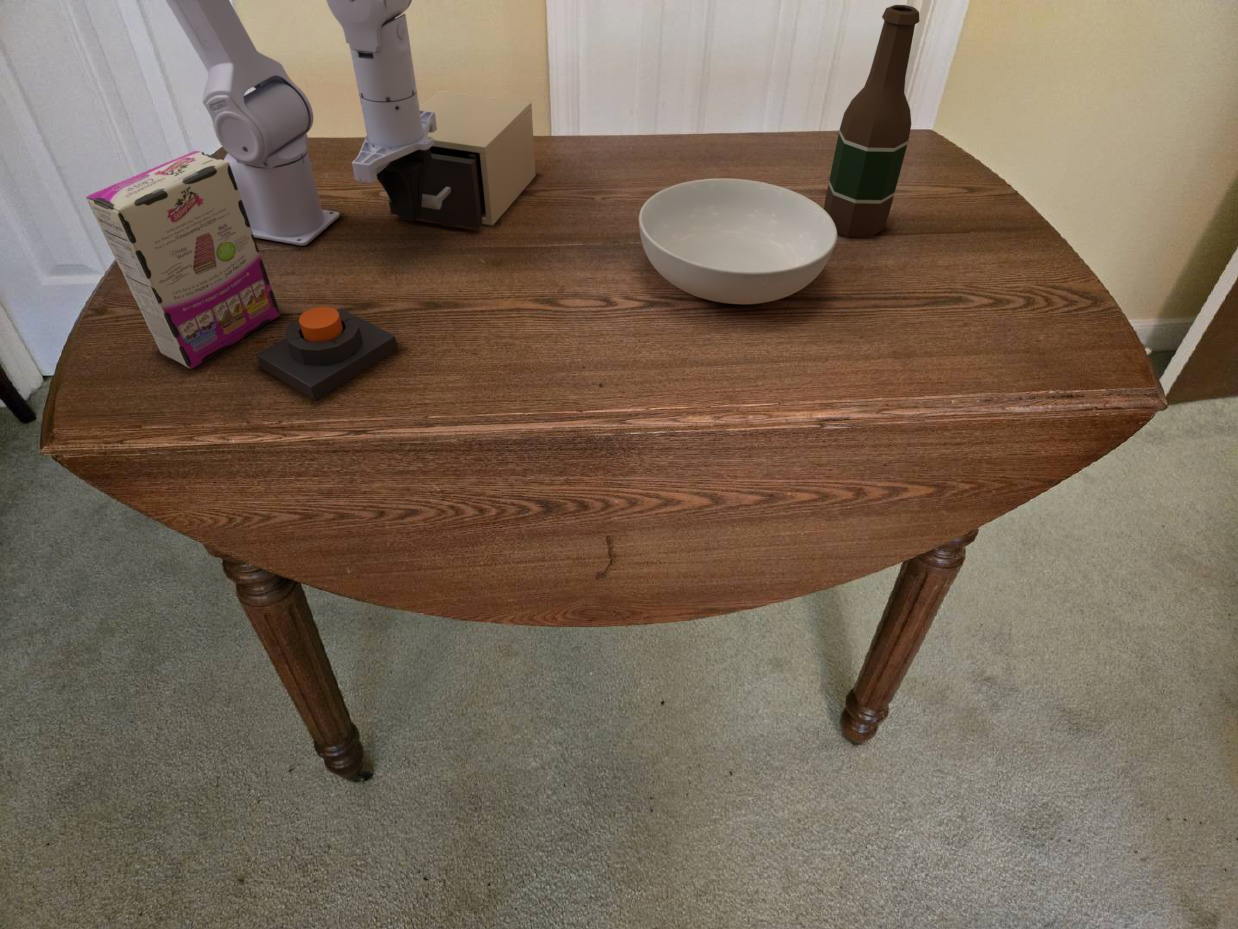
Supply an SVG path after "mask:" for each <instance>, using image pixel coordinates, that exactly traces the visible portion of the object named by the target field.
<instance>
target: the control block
mask: <svg viewBox="0 0 1238 929" xmlns="http://www.w3.org/2000/svg"><path fill="white" fill-rule="evenodd" d="M336 310H337V311H338V313H339V316H340V319H341V323H342V327H343V332H342V334H341V335H340V336H338V337H336V338H335V339H333V340H329V341H325V342H308V341H307V340H305V338H304V336H303V333H302V330H301V327H300V323H299V318H300V317H298V318H296V319H295V320H293V321H292V322H291V323H290V324H289V326H288V327H287V329H286V330H285V338H284V339H282V340H280V341H278V342H276V343H275V344H272V345H271V346H269V347H267V348H265V349H264V350H261V351H260V352H258V353H257V354H256V357H257V360H258V363H259V366H260V369H261V370H263V371H264V372H266V373H268V374H269V375H271V376H273V377H274V378H276V379H278V380H279V381H281V382H283V383H285V384H286V385H288V386H289V387H291V388H293V389H294V390H296V391H298V392H300V393H301V394H303V395H304V396H306V397H308V398H310V399H311V400H312V401H314V402H317V401H318V400H320V399H322V398H323V397H324V396H326V395H328V394H330V393H331V392H333V391H334V390H336V389H338V388H339V387H341V386H342V385H345V384H346V383H347V382H349V381H351V380H352V379H354V378H355V377H357V376H359V375H360V374H362V373H363V372H365V371H367V370H369V369H370V368H372V367H373V366H375V365H377V364H379V362H381V361H383V360H385V359H386V358H388V357H389V356H391V355H392V354H394V353H396V352H398V351H399V348H398V347H399V346H398V343H397V338H396V335H394V334H392V333H390V332H387V330H384V329H382V328H380V327H378V326H376V325H375V324H372V323H371V322H369V321H366V320H365V319H363V318H362V317H359V316H357V315H355V314H353V313H351V312H349V311H347V310H345V309H343V308H338V309H336Z"/></svg>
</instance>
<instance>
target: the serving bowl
mask: <svg viewBox="0 0 1238 929" xmlns="http://www.w3.org/2000/svg"><path fill="white" fill-rule="evenodd" d="M638 214H639V215H638V227H639V228H638V229H639V237H640V241H641V245H642V247H643V250H644V252H645V255H646V257H647V259H648V261H649V262H650V264H651V265H652V267H653V268H654V269H655V270H656V271H657V272H658V273H659V275H660V276H661V277H663V278H664V279H665V280H666V281H667V282H668V283H670V284H671V285H673V287H676V288H678V289H679V290H681V291H683V292H685V293H687V294H689V295H692V296H694V297H696V298H700V299H704V300H706V301H712V302H716V303H722V304H729V305H730V304H731V305H756V304H764V303H769V302H774V301H778V300H781V299H784V298H786V297H790V296H792V295H793V294H795V293H797V292H799V291H801V290H803V289H804V288H805V287H808V285H810V284H811V283H812V282H813V281H815V279H816V278H817V277H818V276H819V275H820V274H821V273H822V272H823V270H824V269H825V267H826V266H827V264H828V262H829V260H830V259H831V257H832V254H833V253H834V252H833V251H834V249H835V248H836V245H837V241H838V233H837V229H836V226H835V224H834V222H833V220H832V218H831V217H830V216H829V214H828V213H827V212H826V211H825V210H824V207H822V206H821V205H819V204H818V203H816V202H815V201H813V200H812V199H810V198H809V197H806V196H804V195H802V194H800V193H798V192H796V191H794V190H791V189H788V188H785V187H782V186H779V185H776V184H772V183H769V182H768V183H767V182H762V181H759V180H751V179H743V178H724V177H723V178H704V179H695V180H690V181H689V180H688V181H685V182H680V183H677V184H674V185H671V186H669V187H666V188H664V189H662V190H660V191H658V192H656V193H654V194H653V195H652V196H651V197H649V198H647V200H646V201H645V202H644V203H643V205H642V207H641V208H640V210H639V213H638Z"/></svg>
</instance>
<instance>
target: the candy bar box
mask: <svg viewBox="0 0 1238 929" xmlns="http://www.w3.org/2000/svg"><path fill="white" fill-rule="evenodd" d="M85 198H86V200H87V203H88V204H89V206H90V209H91V211H92V213H93V215H94V217H95V219H96V221H97V223H98V226H99V227H100V229H101V232H102V233H103V236H104V237H105V240H106V242H107V244H108V246H109V248H110V250H111V252H112V255H113V257H114V259H115V261H116V263H117V265H118V267H119V269H120V270H121V273H122V275H123V277H124V280H125V282H126V284H127V286H128V288H129V291H130V292H131V294H132V295H131V296H133V298H134V300H135V303H136V304H137V307H138V309H139V311H140V313H141V315H142V317H143V319H144V321H145V324H146V325H147V328H148V330H149V332H150V334H151V336H152V339H153V341H154V342H155V344H156V346H157V350H159V352H160V354H161V355H163V356H164V357H166V358H168V359H170V360H172V361H175V362H176V363H178V364H180V365H182V366H183V367H185V368H187V369H189V370H192V369H195V368H197V367H198V366H200V365H201V364H203V363H205V362H207V361H208V360H210V359H211V358H213V357H216V355H219V354H220V353H221V352H224V351H225V350H227V349H228V348H229V347H231V346H233V345H234V344H236V343H238V342H240V341H241V340H243V339H245V338H246V337H248V336H250V335H251V334H252V333H254V332H256V331H258V330H259V329H261V328H262V327H264V326H266V325H267V324H269V323H271V322H272V321H274V320H276V319H277V318H279V317H280V316H281V311H280V309H279V306H278V303H277V300H276V297H275V294H274V291H273V288H272V285H271V282H270V279H269V276H268V273H267V270H266V267H265V264H264V261H263V258H262V256H261V252H260V250H259V247H258V244H257V242H256V237H254V235H253V231H252V229H251V226H250V223H249V220H248V217H247V214H246V211H245V208H244V205H243V202H242V199H241V196H240V193H239V190H238V188H237V184H236V181H235V178H234V175H233V172H232V170H231V167H230V164H229V162H228V161H225V160H224V159H222V158H219V157H216V156H213V155H211V154H209V153H207V154H205V152H204V151H200V150H193V151H192V152H189V153H187V154H184V155H181V156H179V157H176V158H175V159H172V160H170V161H169V160H168V161H167V162H164V163H162V164H160V165H158V166H154V167H153V168H150V169H148V170H146V171H143V172H141V173H138V174H136V175H133V176H131V177H129V178H126V179H124V180H121V181H120V182H117V183H115V184H112V185H110V186H108V187H105V188H103V189H100V190H98V191H96V192H93V193H90V194H88V195H86V196H85Z"/></svg>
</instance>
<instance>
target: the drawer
mask: <svg viewBox="0 0 1238 929" xmlns="http://www.w3.org/2000/svg"><path fill="white" fill-rule="evenodd" d="M429 150H430V151H431V156H432V158H431V161H430V163H429V165H428V168H427V171H426V175H425V179H424V185H423V193H422V204H421V214H420V217H419V218H418V219H419V220H425V221H431V222H437V223H444V224H449V225H455V226H460V227H461V226H462V227H468V228H473V229H479V228H480V227H481V226H482V225H483V224H482V217H481V215H482V214H483V213H484V212H485V211H486V210H485V200H484V191H483V181H482V171H481V162H480V153H476V152H469V151H462V150H456V149H449V148H442V147H435V146H432V147H430V148H429ZM387 199H388V204H389V210H390V214H391V215H395V216H398V215H397V213H396V211H395V209H394V206H393V204H392V202H391V200H390V198H389V196H388V195H387Z"/></svg>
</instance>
